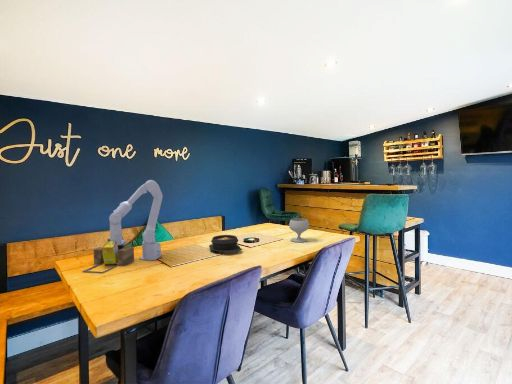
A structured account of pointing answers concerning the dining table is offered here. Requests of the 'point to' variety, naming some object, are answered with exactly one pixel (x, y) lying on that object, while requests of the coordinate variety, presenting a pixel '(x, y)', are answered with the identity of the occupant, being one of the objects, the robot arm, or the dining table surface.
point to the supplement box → (110, 252)
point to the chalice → (299, 228)
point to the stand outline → (97, 271)
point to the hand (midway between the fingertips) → (116, 259)
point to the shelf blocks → (123, 256)
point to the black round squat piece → (225, 244)
